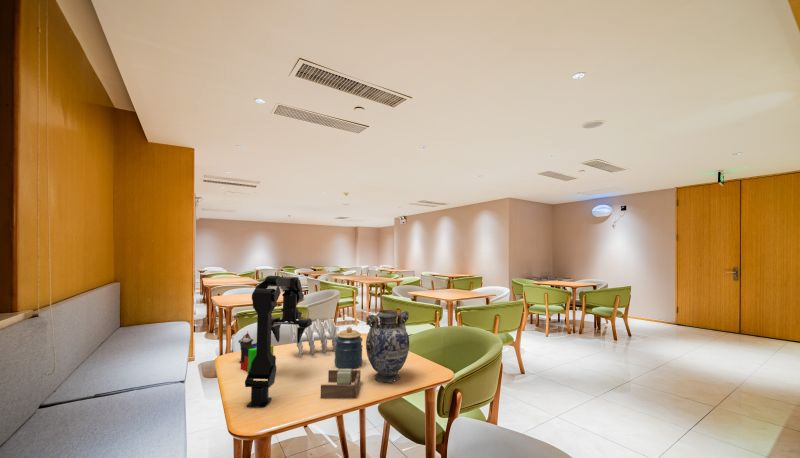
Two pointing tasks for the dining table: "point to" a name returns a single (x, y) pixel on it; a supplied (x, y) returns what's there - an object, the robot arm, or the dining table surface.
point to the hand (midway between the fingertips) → (288, 342)
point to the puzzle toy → (249, 356)
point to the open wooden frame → (341, 386)
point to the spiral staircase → (316, 335)
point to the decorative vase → (387, 343)
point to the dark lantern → (245, 340)
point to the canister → (348, 349)
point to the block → (344, 377)
